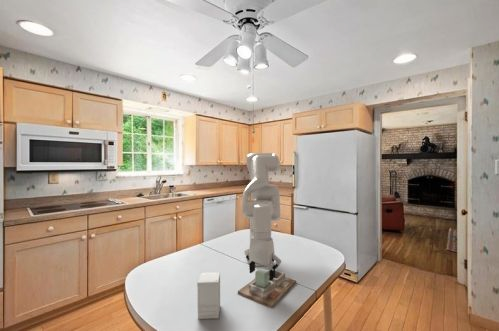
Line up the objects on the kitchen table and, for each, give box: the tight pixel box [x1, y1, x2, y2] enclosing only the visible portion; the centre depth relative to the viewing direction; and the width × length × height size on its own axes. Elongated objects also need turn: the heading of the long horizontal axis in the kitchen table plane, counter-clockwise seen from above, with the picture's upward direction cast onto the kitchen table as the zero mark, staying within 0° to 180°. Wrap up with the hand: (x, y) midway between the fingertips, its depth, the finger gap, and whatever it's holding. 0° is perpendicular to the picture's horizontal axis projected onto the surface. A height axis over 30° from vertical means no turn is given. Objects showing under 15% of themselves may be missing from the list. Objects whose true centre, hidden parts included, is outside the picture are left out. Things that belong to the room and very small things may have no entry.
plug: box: [254, 268, 269, 289], centre depth 92 cm, size 4×4×8 cm
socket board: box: [237, 268, 297, 309], centre depth 96 cm, size 16×22×4 cm
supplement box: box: [196, 271, 221, 320], centre depth 80 cm, size 7×7×13 cm
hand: (261, 275), depth 93 cm, fingers open, 9 cm apart
